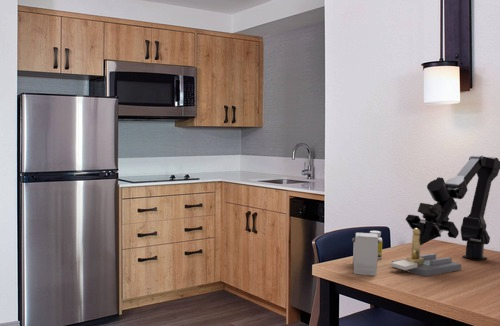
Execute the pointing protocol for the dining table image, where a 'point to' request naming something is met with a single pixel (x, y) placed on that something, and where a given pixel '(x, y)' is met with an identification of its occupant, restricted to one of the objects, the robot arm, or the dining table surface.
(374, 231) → the supplement bottle
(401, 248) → the dining table surface
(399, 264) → the cover
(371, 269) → the supplement box
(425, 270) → the lock plate
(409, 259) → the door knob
